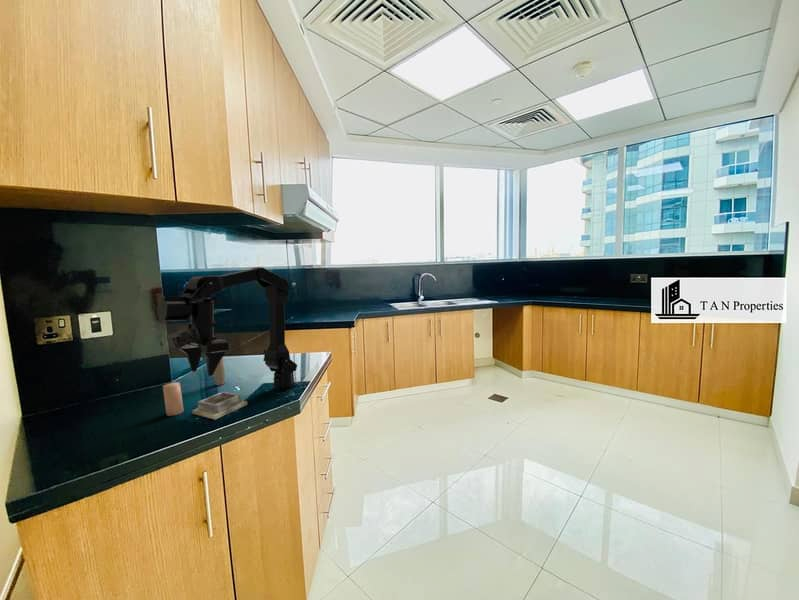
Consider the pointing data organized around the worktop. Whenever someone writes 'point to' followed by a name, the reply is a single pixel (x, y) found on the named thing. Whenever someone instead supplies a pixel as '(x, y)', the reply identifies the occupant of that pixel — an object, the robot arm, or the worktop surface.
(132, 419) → the worktop surface
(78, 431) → the worktop surface
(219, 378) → the handle
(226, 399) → the socket board
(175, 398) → the peg
